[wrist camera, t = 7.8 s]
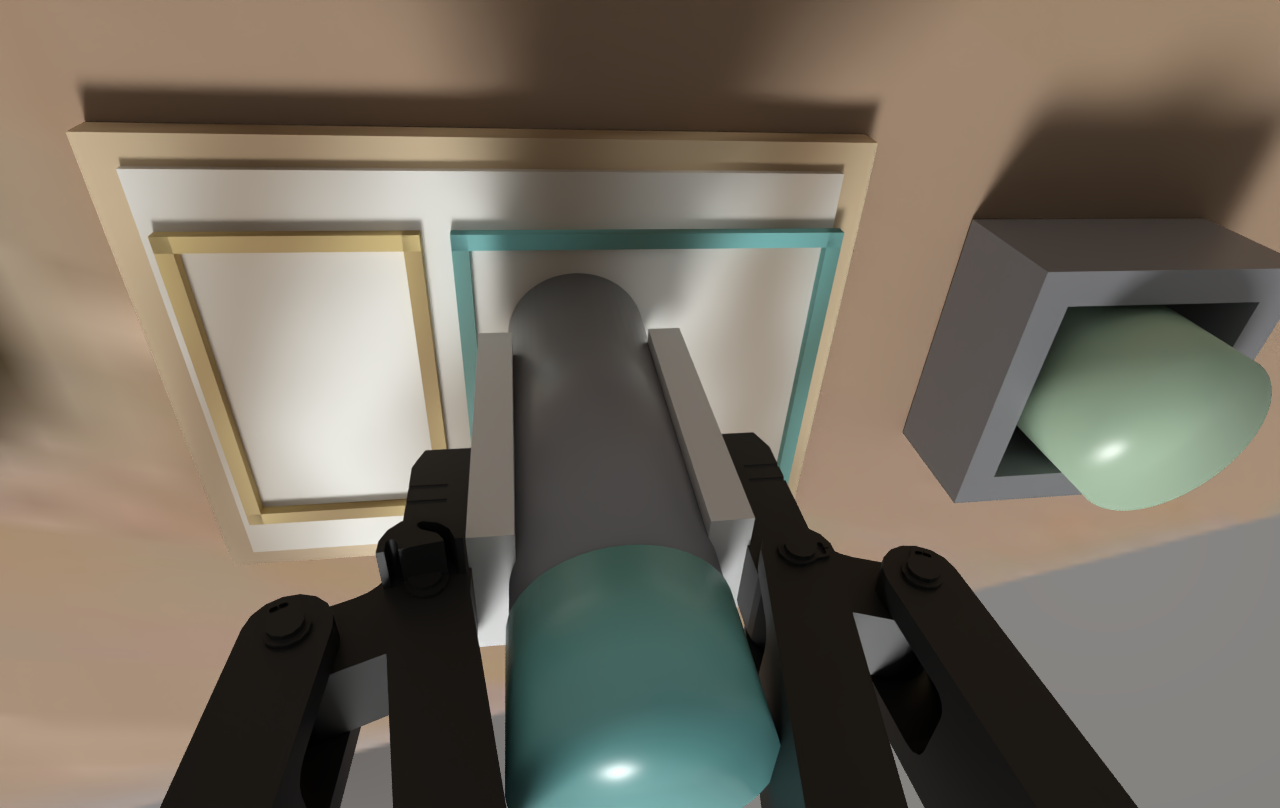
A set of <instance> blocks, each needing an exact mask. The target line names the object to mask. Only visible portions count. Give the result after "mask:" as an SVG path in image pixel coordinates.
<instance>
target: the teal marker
mask: <svg viewBox="0 0 1280 808" xmlns="http://www.w3.org/2000/svg"><path fill="white" fill-rule="evenodd" d="M508 332H512V347H513V393H514V462H515V532H516V562H515V564H514V567H513V569H512V571H511V575H510V580H509V616H508V619H507V624H506V668H505V721H506V722H505V798H506V803H507V806H508V808H743V807H744V806H745V805H747V804H748V803H749V802H751V801H752V800H753V799H754V798H755V797H756V796H758V795H759V794H760V793H761V792H762V791H763V790H764V788H765V787H766V786H767V785H768V784H769V782H770V779H771V776H772V773H773V769H774V766H775V763H776V759H777V756H778V753H779V749H780V746H781V745H780V741H779V738H778V735H777V732H776V728H775V725H774V722H773V719H772V716H771V713H770V710H769V707H768V704H767V700H766V697H765V694H764V691H763V688H762V685H761V682H760V679H759V676H758V672H757V669H756V666H755V663H754V660H753V657H752V654H751V651H750V648H749V644H748V641H747V638H746V635H745V632H744V629H743V626H742V623H741V620H740V616H739V613H738V610H737V607H736V604H735V601H734V598H733V595H732V592H731V589H730V587H729V585H728V583H727V581H726V579H725V578H724V577H723V574H722V570H721V567H720V564H719V561H718V558H717V555H716V551H715V548H714V546H713V545H712V543H711V541H710V539H709V538H708V535H707V531H706V528H705V525H704V522H703V519H702V515H701V512H700V509H699V506H698V503H697V499H696V496H695V493H694V490H693V487H692V483H691V480H690V477H689V474H688V471H687V467H686V464H685V461H684V458H683V455H682V452H681V448H680V445H679V442H678V439H677V436H676V432H675V429H674V426H673V423H672V420H671V416H670V413H669V410H668V407H667V404H666V400H665V397H664V394H663V391H662V388H661V384H660V381H659V378H658V375H657V372H656V368H655V365H654V362H653V359H652V356H651V352H650V349H649V346H648V343H647V341H648V337H647V334H646V330H645V327H644V324H643V321H642V318H641V315H640V312H639V309H638V307H637V305H636V303H635V302H634V300H633V299H632V298H631V296H630V295H629V294H628V293H627V292H626V291H625V290H624V289H622V288H621V287H620V286H619V285H617V284H615V283H614V282H612V281H610V280H608V279H606V278H603V277H600V276H596V275H592V274H585V273H572V274H564V275H559V276H556V277H553V278H550V279H547V280H545V281H543V282H541V283H539V284H538V285H536V286H535V287H533V288H532V289H531V290H530V291H528V292H527V293H526V294H525V295H524V296H523V297H522V299H521V300H520V301H519V303H518V304H517V305H516V307H515V309H514V311H513V313H512V316H511V319H510V323H509V328H508Z"/></svg>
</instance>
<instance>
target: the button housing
mask: <svg viewBox="0 0 1280 808" xmlns="http://www.w3.org/2000/svg"><path fill="white" fill-rule="evenodd" d="M1159 304H1164V305H1166V306H1167V307H1169V308H1170V309H1172V310H1174V311H1175V312H1177V313H1178V314H1180V315H1182V316H1183V317H1185V318H1186V319H1188V320H1190V321H1191V322H1193V323H1194V324H1196V325H1198V326H1199V327H1201V328H1202V329H1204V330H1206V331H1207V332H1209V333H1210V334H1212V335H1214V336H1215V337H1217V338H1218V339H1220V340H1222V341H1223V342H1225V343H1226V344H1228V345H1230V346H1231V347H1233V348H1234V349H1236V350H1238V351H1239V352H1241V353H1242V354H1244V355H1246V356H1247V357H1249V358H1250V359H1252V360H1254V359H1255V357H1256V356H1257V354H1258V353H1259V351H1260V349H1261V348H1262V346H1263V345H1264V343H1265V341H1266V340H1267V338H1268V337H1269V335H1270V333H1271V332H1272V330H1273V329H1274V327H1275V325H1276V324H1277V322H1278V321H1279V319H1280V253H1278V252H1276V251H1274V250H1272V249H1270V248H1268V247H1265V246H1263V245H1261V244H1259V243H1257V242H1255V241H1252V240H1250V239H1248V238H1246V237H1244V236H1242V235H1240V234H1237V233H1235V232H1233V231H1231V230H1229V229H1227V228H1225V227H1222V226H1220V225H1218V224H1216V223H1214V222H1212V221H1209V220H1207V219H972V222H971V225H970V228H969V231H968V235H967V238H966V241H965V244H964V247H963V250H962V253H961V256H960V259H959V262H958V265H957V268H956V271H955V274H954V277H953V280H952V284H951V287H950V290H949V293H948V296H947V299H946V302H945V305H944V308H943V311H942V314H941V317H940V320H939V323H938V326H937V330H936V333H935V336H934V339H933V342H932V345H931V348H930V351H929V354H928V357H927V360H926V363H925V366H924V369H923V372H922V375H921V379H920V382H919V385H918V388H917V391H916V394H915V397H914V400H913V403H912V406H911V409H910V412H909V415H908V418H907V421H906V425H905V428H904V431H903V434H904V435H905V436H906V438H907V439H908V441H909V442H910V443H911V445H912V446H913V447H914V449H915V450H916V451H917V453H918V454H919V456H920V457H921V458H922V460H923V461H924V462H925V464H926V465H927V466H928V468H929V469H930V471H931V472H932V473H933V475H934V476H935V477H936V479H937V480H938V481H939V483H940V484H941V486H942V487H943V488H944V490H945V491H946V492H947V494H948V495H949V496H950V498H951V499H952V501H953V502H954V503H963V502H978V501H992V500H1007V499H1022V498H1037V497H1051V496H1066V495H1081V494H1082V493H1081V492H1080V491H1079V490H1078V489H1077V488H1076V487H1075V486H1074V485H1073V484H1072V483H1071V482H1070V481H1069V480H1068V479H1067V478H1066V476H1065V475H1064V474H1063V473H1062V472H1061V471H1060V470H1059V469H1058V468H1057V467H1056V466H1055V465H1054V464H1053V463H1052V462H1051V461H1050V460H1049V459H1048V458H1047V457H1046V456H1045V455H1044V454H1043V452H1042V451H1041V450H1040V449H1039V448H1038V447H1037V446H1036V445H1035V444H1034V443H1033V442H1032V441H1031V440H1030V439H1029V438H1028V437H1027V436H1026V435H1025V434H1024V433H1023V432H1022V431H1021V429H1020V428H1019V427H1018V426H1017V423H1018V420H1019V418H1020V416H1021V414H1022V411H1023V409H1024V407H1025V404H1026V402H1027V400H1028V397H1029V395H1030V393H1031V391H1032V388H1033V386H1034V384H1035V381H1036V379H1037V377H1038V375H1039V372H1040V370H1041V368H1042V365H1043V363H1044V361H1045V358H1046V356H1047V354H1048V352H1049V349H1050V347H1051V345H1052V342H1053V340H1054V338H1055V335H1056V333H1057V331H1058V329H1059V326H1060V324H1061V322H1062V319H1063V317H1064V315H1065V313H1066V310H1067V308H1068V307H1075V306H1117V305H1159Z"/></svg>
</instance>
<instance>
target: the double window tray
mask: <svg viewBox="0 0 1280 808" xmlns="http://www.w3.org/2000/svg"><path fill="white" fill-rule="evenodd" d="M66 134H67V137H68V139H69V142H70V144H71V147H72V150H73V152H74V155H75V157H76V160H77V162H78V165H79V168H80V170H81V173H82V175H83V178H84V181H85V183H86V186H87V188H88V191H89V193H90V196H91V199H92V201H93V204H94V206H95V209H96V212H97V214H98V217H99V219H100V222H101V224H102V227H103V230H104V232H105V235H106V237H107V240H108V243H109V245H110V248H111V250H112V253H113V255H114V258H115V261H116V263H117V266H118V268H119V271H120V273H121V276H122V279H123V281H124V284H125V286H126V289H127V292H128V294H129V297H130V299H131V302H132V304H133V307H134V310H135V312H136V315H137V317H138V320H139V323H140V325H141V328H142V330H143V333H144V335H145V338H146V341H147V343H148V346H149V348H150V351H151V354H152V356H153V359H154V361H155V364H156V366H157V369H158V372H159V374H160V377H161V379H162V382H163V384H164V387H165V390H166V392H167V395H168V397H169V400H170V403H171V405H172V408H173V410H174V413H175V415H176V418H177V421H178V423H179V426H180V428H181V431H182V434H183V436H184V439H185V441H186V444H187V446H188V449H189V452H190V454H191V457H192V459H193V462H194V465H195V467H196V470H197V472H198V475H199V477H200V480H201V483H202V485H203V488H204V490H205V493H206V495H207V498H208V501H209V503H210V506H211V508H212V511H213V514H214V516H215V519H216V521H217V524H218V526H219V529H220V532H221V534H222V537H223V539H224V542H225V545H226V547H227V550H228V552H229V555H230V557H231V560H232V563H233V565H245V564H259V563H274V562H288V561H302V560H316V559H330V558H345V557H359V556H373V555H376V554H375V553H376V549H377V545H378V541H379V540H380V539H381V537H382V536H383V535H384V534H385V532H386V531H387V530H388V529H390V528H391V527H393V526H395V525H396V524H398V523H399V522H401V521H403V517H404V511H405V505H406V499H407V493H408V490H409V481H410V475H411V469H412V466H413V465H414V464H415V463H416V461H417V460H418V459H419V457H420V456H421V455H422V454H423V452H424V451H425V450H439V449H459V448H471V442H472V426H473V411H474V395H475V379H476V363H477V348H478V333H505V332H508V328H509V323H510V319H511V316H512V313H513V311H514V309H515V307H516V305H517V304H518V303H519V301H520V300H521V299H522V297H523V296H524V295H525V294H526V293H527V292H528V291H530V290H531V289H532V288H533V287H535V286H536V285H538V284H539V283H541V282H543V281H545V280H547V279H550V278H553V277H556V276H559V275H564V274H572V273H585V274H592V275H596V276H600V277H603V278H606V279H608V280H610V281H612V282H614V283H615V284H617V285H619V286H620V287H621V288H622V289H624V290H625V291H626V292H627V293H628V294H629V295H630V296H631V298H632V299H633V300H634V302H635V303H636V305H637V307H638V309H639V312H640V315H641V318H642V321H643V324H644V327H645V330H646V334H647V337H648V329H657V328H680V331H681V333H682V336H683V338H684V341H685V343H686V346H687V348H688V351H689V353H690V356H691V358H692V361H693V363H694V366H695V369H696V371H697V374H698V376H699V379H700V381H701V384H702V386H703V389H704V391H705V394H706V396H707V399H708V401H709V404H710V406H711V409H712V411H713V414H714V416H715V419H716V421H717V424H718V426H719V429H720V431H721V434H728V433H748V432H754V433H755V434H756V435H757V436H758V437H759V438H760V439H761V440H763V441H764V442H765V443H766V444H767V445H768V446H769V447H770V449H771V451H772V453H773V455H774V457H775V459H776V461H777V463H778V464H777V465H778V467H780V470H781V472H782V474H783V476H784V480H786V482H787V484H788V486H789V488H790V491H791V493H792V495H793V497H794V499H795V495H796V491H797V487H798V482H799V478H800V474H801V470H802V465H803V461H804V457H805V453H806V448H807V444H808V440H809V436H810V431H811V427H812V423H813V419H814V414H815V410H816V406H817V401H818V397H819V393H820V389H821V384H822V380H823V376H824V372H825V367H826V363H827V359H828V355H829V350H830V346H831V342H832V338H833V333H834V329H835V325H836V321H837V316H838V312H839V308H840V303H841V299H842V295H843V291H844V286H845V282H846V278H847V274H848V269H849V265H850V261H851V257H852V252H853V248H854V244H855V240H856V235H857V231H858V227H859V222H860V218H861V214H862V210H863V205H864V201H865V197H866V193H867V188H868V184H869V180H870V176H871V171H872V167H873V163H874V159H875V154H876V150H877V146H878V143H877V142H876V141H874V140H873V139H871V138H870V137H868V136H867V135H865V134H815V133H752V132H688V131H625V130H561V129H498V128H434V127H371V126H308V125H244V124H181V123H117V122H83V123H81V124H79V125H77V126H75V127H74V128H72V129H70V130H68V131H66Z"/></svg>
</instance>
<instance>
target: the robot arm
mask: <svg viewBox="0 0 1280 808" xmlns="http://www.w3.org/2000/svg"><path fill="white" fill-rule="evenodd" d="M647 343H648V346H649V349H650V352H651V356H652V359H653V362H654V365H655V368H656V372H657V375H658V378H659V381H660V384H661V388H662V391H663V394H664V397H665V400H666V404H667V407H668V410H669V413H670V416H671V420H672V423H673V426H674V429H675V432H676V436H677V439H678V442H679V445H680V448H681V452H682V455H683V458H684V461H685V464H686V467H687V471H688V474H689V477H690V480H691V483H692V487H693V490H694V493H695V496H696V499H697V503H698V506H699V509H700V512H701V515H702V519H703V522H704V525H705V528H706V531H707V535H708V538H709V539H710V541H711V543H712V545H713V546H714V548H715V551H716V555H717V558H718V561H719V564H720V567H721V570H722V574H723V577H724V578H725V579H726V581H727V583H728V585H729V587H730V589H731V592H732V595H733V598H734V601H735V604H736V607H738V605H739V609H740V612H741V615H742V618H743V621H744V624H745V626H744V632H745V635H746V638H747V641H748V644H749V648H750V651H751V654H752V657H753V660H754V663H755V666H756V669H757V672H758V676H759V679H760V682H761V685H762V688H763V691H764V694H765V697H766V700H767V704H768V707H769V710H770V713H771V716H772V719H773V722H774V725H775V728H776V732H777V735H778V738H779V741H780V745H781V746H780V749H779V753H778V756H777V759H776V763H775V766H774V769H773V773H772V776H771V779H770V782H769V784H768V785H767V786H766V787H765V788H764V790H763V791H762V792H761V793H760V800H761V807H762V808H908V806H907V802H906V799H905V795H904V792H903V788H902V785H901V781H900V778H899V774H898V771H897V767H896V764H895V760H894V757H893V753H892V749H891V746H890V744H891V745H892V747H893V749H894V751H895V753H896V755H897V756H898V759H899V760H900V762H901V764H902V766H903V768H904V770H905V772H906V774H907V776H908V777H909V779H910V781H911V783H912V785H913V787H914V788H915V791H916V792H917V794H918V796H919V798H920V800H921V802H922V804H923V806H924V807H925V808H1138V807H1137V805H1136V804H1135V803H1134V802H1133V800H1132V799H1131V798H1130V796H1129V795H1128V794H1127V793H1126V791H1125V790H1124V788H1123V787H1122V786H1121V784H1120V783H1119V782H1118V781H1117V779H1116V778H1115V777H1114V775H1113V774H1112V773H1111V771H1110V770H1109V769H1108V768H1107V766H1106V765H1105V764H1104V762H1103V761H1102V760H1101V759H1100V757H1099V756H1098V754H1097V753H1096V752H1095V751H1094V749H1093V748H1092V747H1091V745H1090V744H1089V743H1088V741H1087V740H1086V739H1085V737H1084V736H1083V735H1082V734H1081V732H1080V731H1079V730H1078V728H1077V727H1076V726H1075V724H1074V723H1073V722H1072V721H1071V719H1070V718H1069V717H1068V715H1067V714H1066V713H1065V711H1064V710H1063V709H1062V707H1061V706H1060V705H1059V704H1058V702H1057V701H1056V700H1055V698H1054V697H1053V696H1052V694H1051V693H1050V692H1049V690H1048V689H1047V688H1046V686H1045V685H1044V684H1043V683H1042V681H1041V680H1040V679H1039V677H1038V676H1037V675H1036V673H1035V672H1034V671H1033V670H1032V668H1031V667H1030V666H1029V664H1028V663H1027V662H1026V660H1025V659H1024V658H1023V656H1022V655H1021V654H1020V653H1019V651H1018V650H1017V649H1016V647H1015V646H1014V645H1013V643H1012V642H1011V641H1010V639H1009V638H1008V637H1007V635H1006V634H1005V633H1004V632H1003V630H1002V629H1001V628H1000V627H999V625H998V624H997V622H996V621H995V620H994V618H993V617H992V616H991V615H990V613H989V612H988V611H987V609H986V608H985V607H984V605H983V604H982V603H981V601H980V600H979V599H978V598H977V596H976V595H975V594H974V592H973V591H972V590H971V588H970V587H969V586H968V584H967V583H966V582H965V581H964V579H963V578H962V577H961V575H960V574H959V573H958V571H957V570H956V569H955V568H954V567H953V566H952V565H951V564H950V563H949V562H948V561H947V560H946V559H945V558H944V557H942V556H940V555H938V554H936V553H935V552H933V551H931V550H928V549H925V548H921V547H918V546H900V547H897V548H894V549H891V550H890V551H889V552H888V553H887V554H886V555H885V556H884V558H883V561H882V562H877V561H871V560H866V559H860V558H854V557H850V556H846V555H843V554H840V553H838V552H835V551H834V549H833V547H832V545H831V543H830V542H828V541H827V540H826V539H825V538H824V537H823V536H822V535H820V534H819V533H817V532H814V531H812V530H810V529H809V528H808V526H807V524H806V522H805V520H804V518H803V516H802V514H801V512H800V509H799V507H798V505H797V503H796V501H795V499H794V497H793V495H792V493H791V491H790V488H789V486H788V484H787V482H786V480H784V476H783V474H782V472H781V470H780V467H778V465H777V464H778V463H777V461H776V459H775V457H774V455H773V453H772V451H771V449H770V447H769V446H768V445H767V444H766V443H765V442H764V441H763V440H761V439H760V438H759V437H758V436H757V435H756V434H755V433H754V432H748V433H728V434H721V431H720V429H719V426H718V424H717V421H716V419H715V416H714V414H713V411H712V409H711V406H710V404H709V401H708V399H707V396H706V394H705V391H704V389H703V386H702V384H701V381H700V379H699V376H698V374H697V371H696V369H695V366H694V363H693V361H692V358H691V356H690V353H689V351H688V348H687V346H686V343H685V341H684V338H683V336H682V333H681V331H680V328H657V329H648V341H647ZM375 554H376V558H377V563H378V567H379V572H380V576H381V581H382V583H381V584H380V585H379V586H377V587H376V588H374V589H373V590H371V591H370V592H368V593H366V594H364V595H361V596H359V597H357V598H354V599H351V600H348V601H345V602H342V603H339V604H336V605H333V606H330V607H329V605H328V603H326V602H325V601H323V600H321V599H320V598H318V597H316V596H310V595H303V594H299V595H292V596H286V597H282V598H280V599H277V600H275V601H273V602H270V603H268V604H266V605H264V606H263V607H262V608H261V609H259V610H258V611H257V612H255V613H254V614H253V615H252V616H251V617H250V618H249V619H248V621H247V622H246V624H245V625H244V627H243V628H242V629H241V631H240V634H239V636H238V638H237V640H236V642H235V644H234V647H233V649H232V651H231V653H230V655H229V658H228V660H227V662H226V664H225V666H224V669H223V671H222V673H221V675H220V677H219V680H218V682H217V684H216V686H215V688H214V691H213V693H212V695H211V697H210V699H209V701H208V704H207V706H206V708H205V710H204V712H203V715H202V717H201V719H200V721H199V723H198V726H197V728H196V730H195V732H194V734H193V737H192V739H191V741H190V743H189V745H188V747H187V750H186V752H185V754H184V756H183V758H182V761H181V763H180V765H179V767H178V769H177V772H176V774H175V776H174V778H173V780H172V783H171V785H170V787H169V789H168V791H167V793H166V796H165V798H164V800H163V802H162V804H161V807H160V808H340V806H341V802H342V798H343V794H344V790H345V786H346V782H347V779H348V775H349V771H350V767H351V763H352V759H353V755H354V752H355V748H356V744H357V740H358V736H359V732H360V728H361V726H363V725H366V724H368V723H371V722H373V721H375V720H378V719H380V718H383V717H385V716H388V715H389V726H390V748H391V771H392V792H393V808H506V803H505V797H504V791H503V785H502V779H501V773H500V767H499V761H498V755H497V749H496V743H495V737H494V731H493V725H492V719H491V713H490V707H489V701H488V695H487V689H486V683H485V677H484V671H483V665H482V659H481V653H480V647H484V646H495V645H506V624H507V619H508V616H509V580H510V575H511V571H512V569H513V567H514V564H515V562H516V532H515V462H514V393H513V347H512V332H505V333H478V348H477V363H476V379H475V395H474V411H473V426H472V442H471V448H459V449H439V450H425V451H424V452H423V454H422V455H421V456H420V457H419V459H418V460H417V461H416V463H415V464H414V465H413V466H412V469H411V475H410V481H409V490H408V493H407V499H406V505H405V511H404V517H403V521H401V522H399V523H398V524H396V525H395V526H393V527H391V528H390V529H388V530H387V531H386V532H385V534H384V535H383V536H382V537H381V539H380V540H379V541H378V545H377V549H376V553H375Z"/></svg>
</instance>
